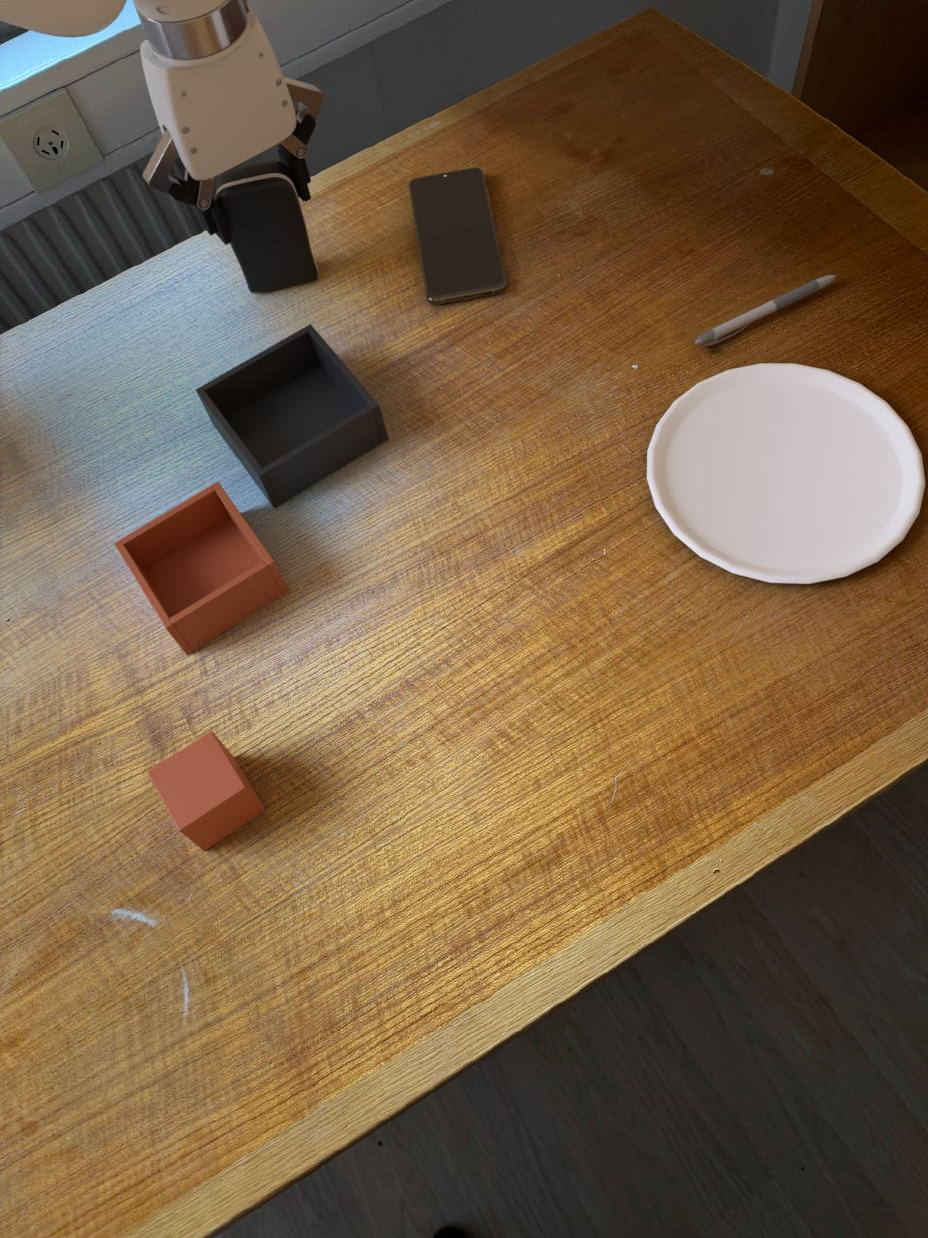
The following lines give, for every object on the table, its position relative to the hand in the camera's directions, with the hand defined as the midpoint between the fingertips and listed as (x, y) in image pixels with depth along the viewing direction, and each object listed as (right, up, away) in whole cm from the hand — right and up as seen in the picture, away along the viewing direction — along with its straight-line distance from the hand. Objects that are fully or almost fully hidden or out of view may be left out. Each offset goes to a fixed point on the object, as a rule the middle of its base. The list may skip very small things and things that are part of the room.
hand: (260, 212), depth 91 cm
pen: (+43, -10, -2) cm, 45 cm away
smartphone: (+17, 0, +6) cm, 18 cm away
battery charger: (+1, -3, +7) cm, 7 cm away
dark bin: (+4, -20, -3) cm, 20 cm away
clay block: (0, -48, -17) cm, 52 cm away
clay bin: (-2, -33, -9) cm, 34 cm away
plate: (+42, -24, -10) cm, 50 cm away
